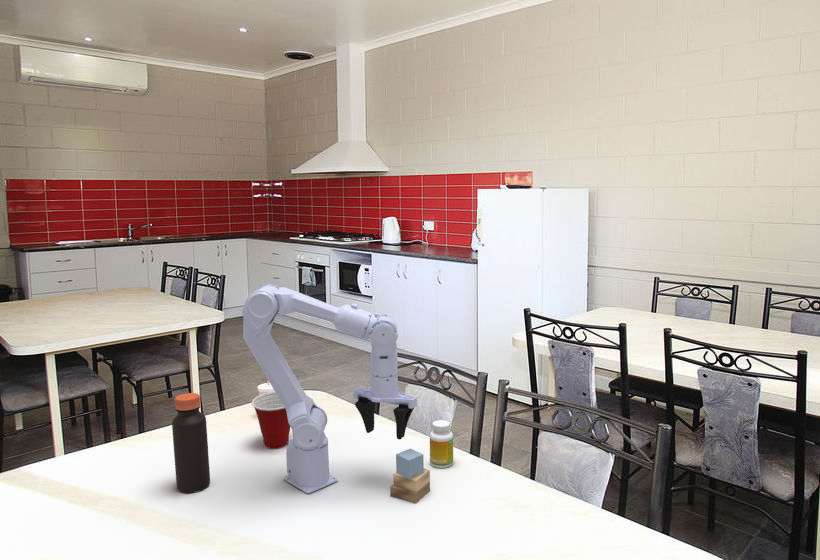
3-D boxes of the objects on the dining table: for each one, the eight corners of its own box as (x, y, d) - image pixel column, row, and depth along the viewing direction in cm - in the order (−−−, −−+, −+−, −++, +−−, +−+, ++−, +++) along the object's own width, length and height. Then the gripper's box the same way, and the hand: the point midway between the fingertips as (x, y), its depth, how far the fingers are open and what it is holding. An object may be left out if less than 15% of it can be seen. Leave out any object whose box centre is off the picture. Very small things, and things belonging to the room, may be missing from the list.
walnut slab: (390, 498, 120) (390, 486, 120) (405, 485, 125) (405, 474, 125) (415, 505, 117) (415, 493, 117) (430, 492, 122) (429, 481, 122)
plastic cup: (248, 453, 142) (245, 406, 140) (261, 435, 152) (259, 391, 151) (292, 453, 141) (290, 406, 139) (302, 435, 152) (300, 391, 150)
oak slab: (393, 485, 120) (393, 474, 120) (407, 474, 125) (407, 463, 125) (416, 492, 117) (416, 480, 117) (429, 481, 122) (429, 469, 122)
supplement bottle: (451, 469, 132) (451, 428, 130) (428, 467, 133) (427, 426, 131) (454, 459, 137) (454, 419, 135) (431, 457, 138) (431, 418, 137)
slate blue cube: (396, 472, 121) (395, 454, 120) (410, 466, 123) (410, 448, 123) (409, 479, 118) (408, 460, 117) (423, 472, 120) (423, 454, 120)
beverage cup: (255, 419, 163) (252, 371, 161) (264, 412, 169) (261, 365, 167) (276, 421, 162) (273, 372, 160) (284, 413, 168) (282, 365, 166)
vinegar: (197, 475, 131) (191, 389, 128) (216, 483, 127) (211, 395, 124) (170, 488, 125) (163, 398, 122) (189, 497, 121) (182, 404, 118)
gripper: (345, 373, 124) (346, 435, 126) (405, 383, 117) (406, 447, 119) (363, 365, 130) (364, 423, 132) (421, 374, 123) (421, 435, 125)
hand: (385, 434), depth 126 cm, fingers open, 7 cm apart
